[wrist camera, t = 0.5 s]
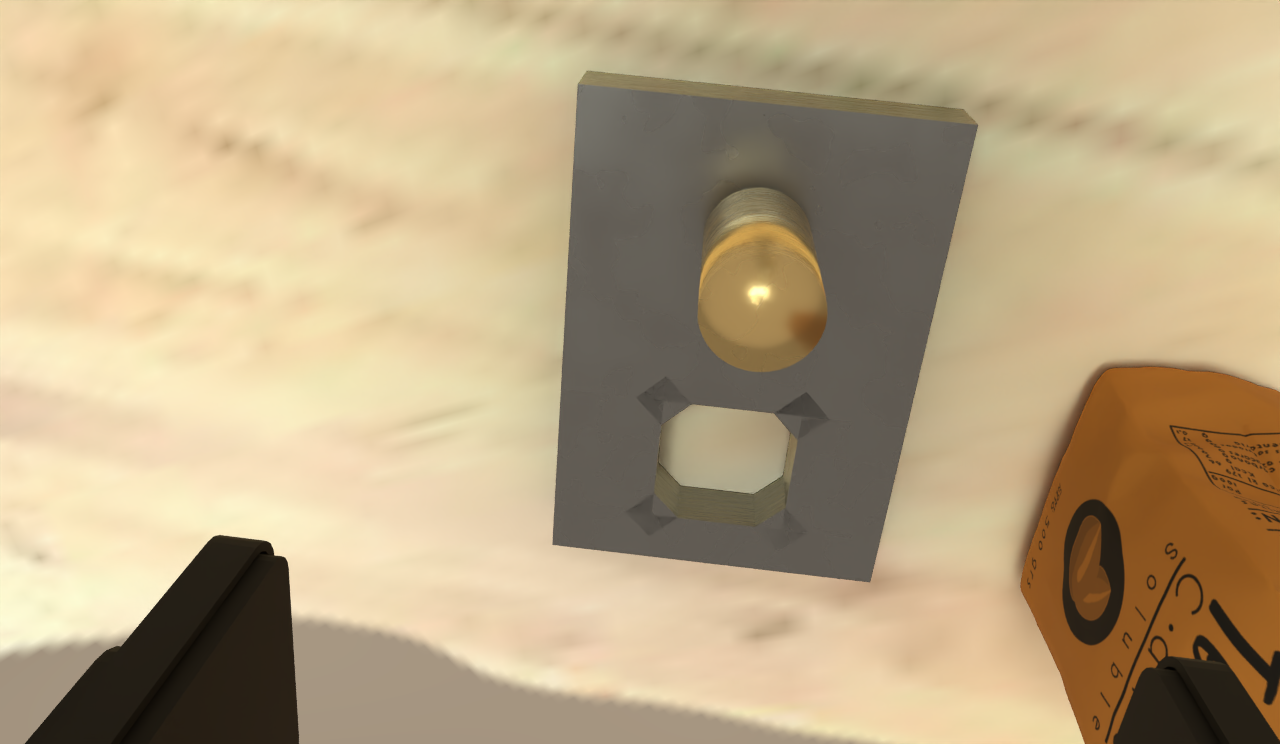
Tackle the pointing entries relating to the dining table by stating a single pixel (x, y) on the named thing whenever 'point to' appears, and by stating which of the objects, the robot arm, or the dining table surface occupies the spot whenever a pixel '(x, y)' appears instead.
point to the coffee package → (1162, 540)
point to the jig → (668, 314)
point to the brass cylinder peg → (760, 282)
